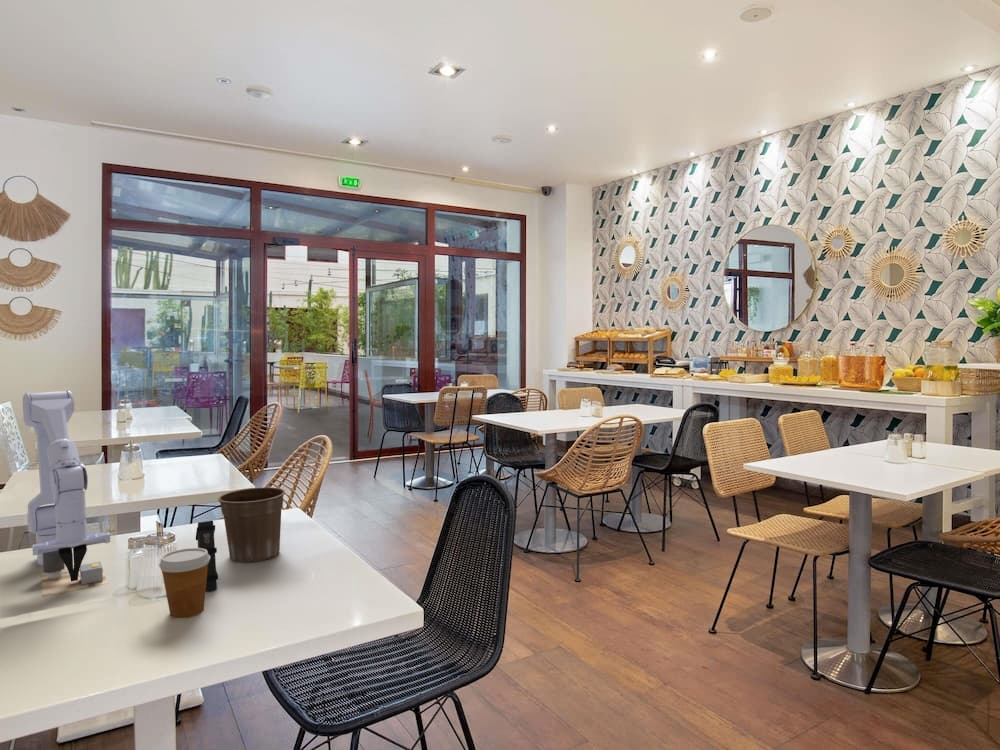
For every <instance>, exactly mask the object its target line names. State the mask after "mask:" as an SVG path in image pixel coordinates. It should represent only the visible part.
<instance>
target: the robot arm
mask: <svg viewBox="0 0 1000 750" xmlns="http://www.w3.org/2000/svg"><path fill="white" fill-rule="evenodd" d="M74 412H75V398H74V393H73V392H72V391H70V390H68V389H67V390H65V391H64V390H62V391H61V390H59V391H44V392H25V393H24V394H23V395H22V414H23V415H22V416H23V422H24V424H25V426H27V427H30V428H33V430H34V433H35V435H36V445H37V462H38V474H39V487H40V492H39V493H38V494H36V495H35V497H33V498H32V499H31V500H29V502H28V504H27V512H26V514H27V515H26V517H27V526H28V527H27V528H28V530H29V532H30V533H31V534H35V537H36V538H35V540H36V541H35V542H36V543H35V544H32V556H36V558H37V561H36V562H37V565H39V566H43V553H46V552H52V551H59V556H60V557H61V559H62V560H63V562H64V564H65V567H66V569H67V571H69V574H70V578H71V581H76V580H78V574H79V575H80V571H79V569H80V566H81V565H82V562H83V560H84V558H85V556H86V553H87V552H88V548H87V546H92V545H93V546H94V545H100V544H109V543H111V534H110V532H104V533H93V534H92V533H91V534H88V529H87V528H88V527H87V509H86V508H87V506H86V491H87V490H88V486H89V485H88V484H89V477H88V471H87V469H86V465H85V464H84V462H83V461H81V460H80V456H79V451H78V447H77V444H76V443H75V442H74V441H73V440H70V439H69V433H68V432H69V431H68V423H69V421H70V419H71V418H72V416H73V414H74Z"/></svg>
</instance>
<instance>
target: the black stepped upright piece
mask: <svg viewBox="0 0 1000 750" xmlns="http://www.w3.org/2000/svg"><path fill="white" fill-rule="evenodd" d="M215 531H216V525H215V524H214V520H207V521H199V522H198V523H197V527H196V531H195V541H197V548H202V549H206V550H207V551H208V555H210V560H209V563H208V569H207V581H206V591H205V593H210V592H215V591H217V589H218V586H217V585H218V584H217V580H219V574H218V572H217V571H218V570H217V566H216V565H217V563H216V553H217V552H218V548H217V547H216V546H215V545H216V544H215V543H216V542H215V533H216V532H215Z"/></svg>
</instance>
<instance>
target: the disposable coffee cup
mask: <svg viewBox="0 0 1000 750" xmlns="http://www.w3.org/2000/svg"><path fill="white" fill-rule="evenodd" d="M209 560H210V555H208V551H207V550H206V549H202V548H198V547H191V548H189V547H188V548H181V549H176V550H173V551H170V552H167V553H165V554H163V555H162V556H161V558H160V562H159V563H158V567H159V568H160V571H161V574H162V578H163V583H164V590H165V594H166V600H167V604H168V610H169V616H170V617H171V618H175V619H186V618H190V617H194V616H197V615H199V614H201V613H203V611H204V609H205V603H206V602H205V601H206V592H205V591H206V581H207V569H208V563H209Z"/></svg>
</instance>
